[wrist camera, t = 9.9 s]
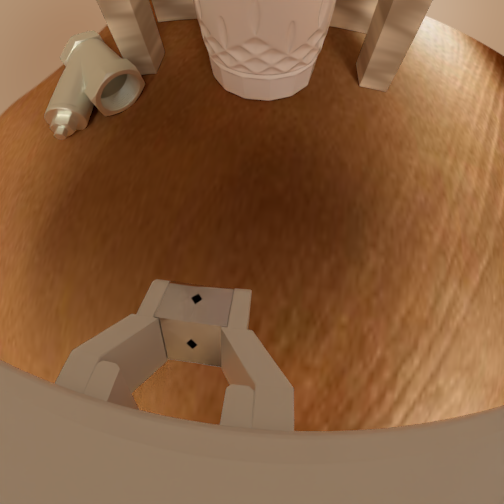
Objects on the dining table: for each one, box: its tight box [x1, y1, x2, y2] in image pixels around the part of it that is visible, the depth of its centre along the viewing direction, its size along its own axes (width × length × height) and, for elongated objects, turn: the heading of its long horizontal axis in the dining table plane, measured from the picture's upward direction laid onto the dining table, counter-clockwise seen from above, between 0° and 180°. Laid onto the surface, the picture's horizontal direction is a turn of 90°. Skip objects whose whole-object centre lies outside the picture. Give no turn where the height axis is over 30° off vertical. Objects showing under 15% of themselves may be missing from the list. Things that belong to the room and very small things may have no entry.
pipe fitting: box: [44, 31, 145, 140], centre depth 16 cm, size 8×4×7 cm
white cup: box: [193, 0, 337, 101], centre depth 13 cm, size 8×8×10 cm
